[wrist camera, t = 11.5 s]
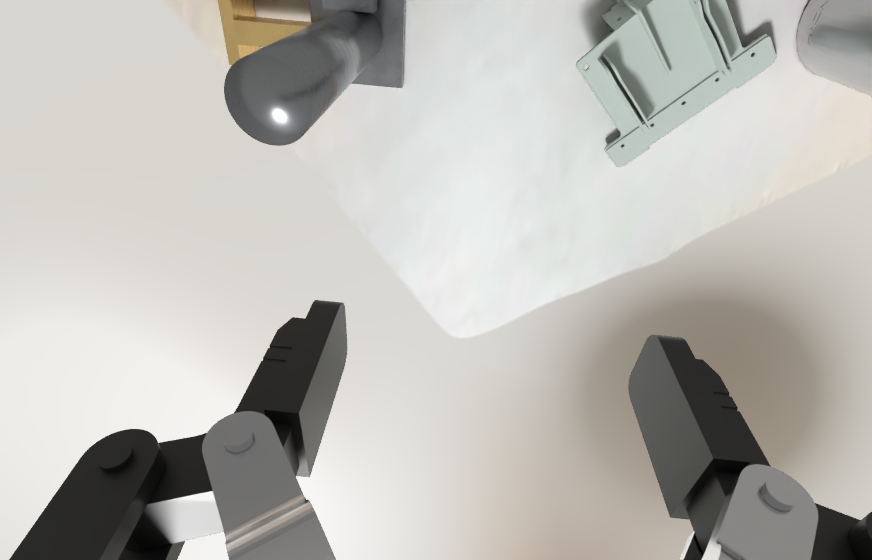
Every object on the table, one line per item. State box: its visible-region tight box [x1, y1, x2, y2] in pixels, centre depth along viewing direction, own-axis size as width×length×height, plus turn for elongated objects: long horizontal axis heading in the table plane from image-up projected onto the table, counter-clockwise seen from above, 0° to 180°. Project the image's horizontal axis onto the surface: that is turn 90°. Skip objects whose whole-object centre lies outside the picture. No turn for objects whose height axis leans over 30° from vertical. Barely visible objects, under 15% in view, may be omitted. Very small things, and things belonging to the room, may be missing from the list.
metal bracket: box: [576, 0, 776, 167], centre depth 40 cm, size 14×6×15 cm
